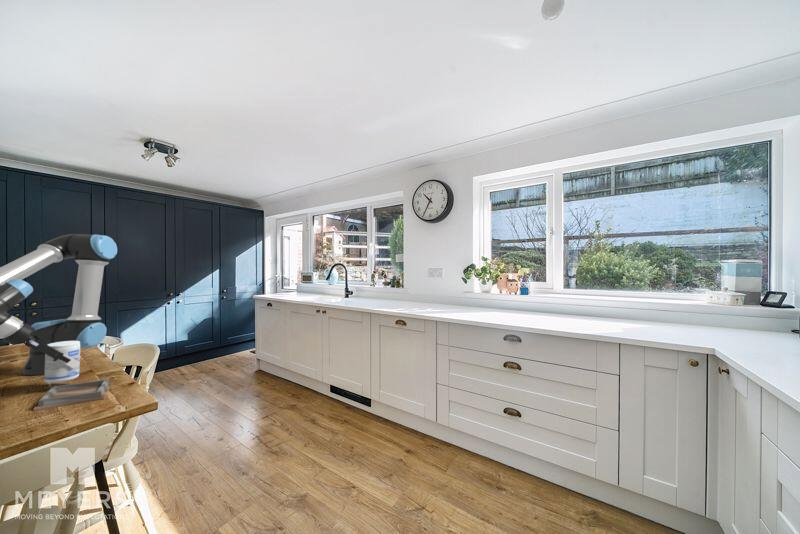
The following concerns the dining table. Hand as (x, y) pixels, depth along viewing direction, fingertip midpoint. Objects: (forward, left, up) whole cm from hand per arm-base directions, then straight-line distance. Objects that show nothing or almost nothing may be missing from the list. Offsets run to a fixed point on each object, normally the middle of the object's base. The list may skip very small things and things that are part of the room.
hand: (73, 362), depth 124 cm
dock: (+17, +4, -9) cm, 19 cm away
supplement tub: (+1, -3, -6) cm, 7 cm away
